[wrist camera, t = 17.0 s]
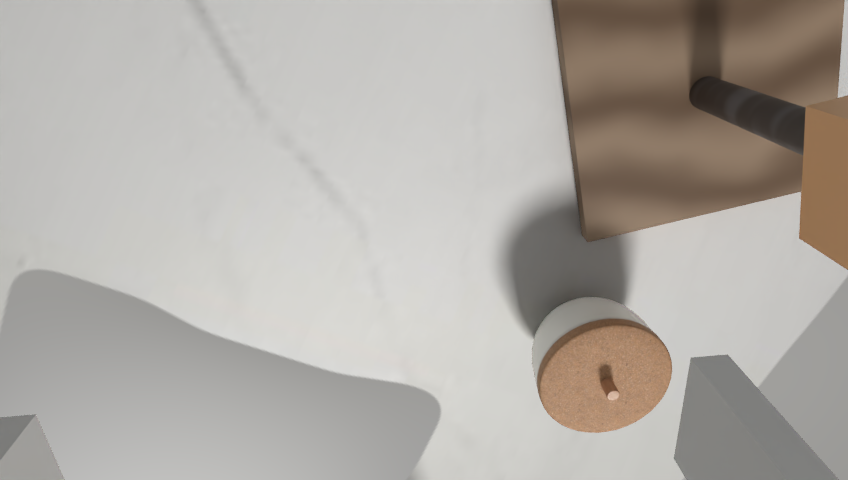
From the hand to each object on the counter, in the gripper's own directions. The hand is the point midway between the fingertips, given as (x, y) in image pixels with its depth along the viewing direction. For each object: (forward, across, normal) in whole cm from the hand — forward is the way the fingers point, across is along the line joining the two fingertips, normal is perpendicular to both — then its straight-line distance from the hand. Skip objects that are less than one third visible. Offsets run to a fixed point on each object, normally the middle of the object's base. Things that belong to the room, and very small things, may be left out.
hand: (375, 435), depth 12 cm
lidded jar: (+35, +16, -22) cm, 44 cm away
